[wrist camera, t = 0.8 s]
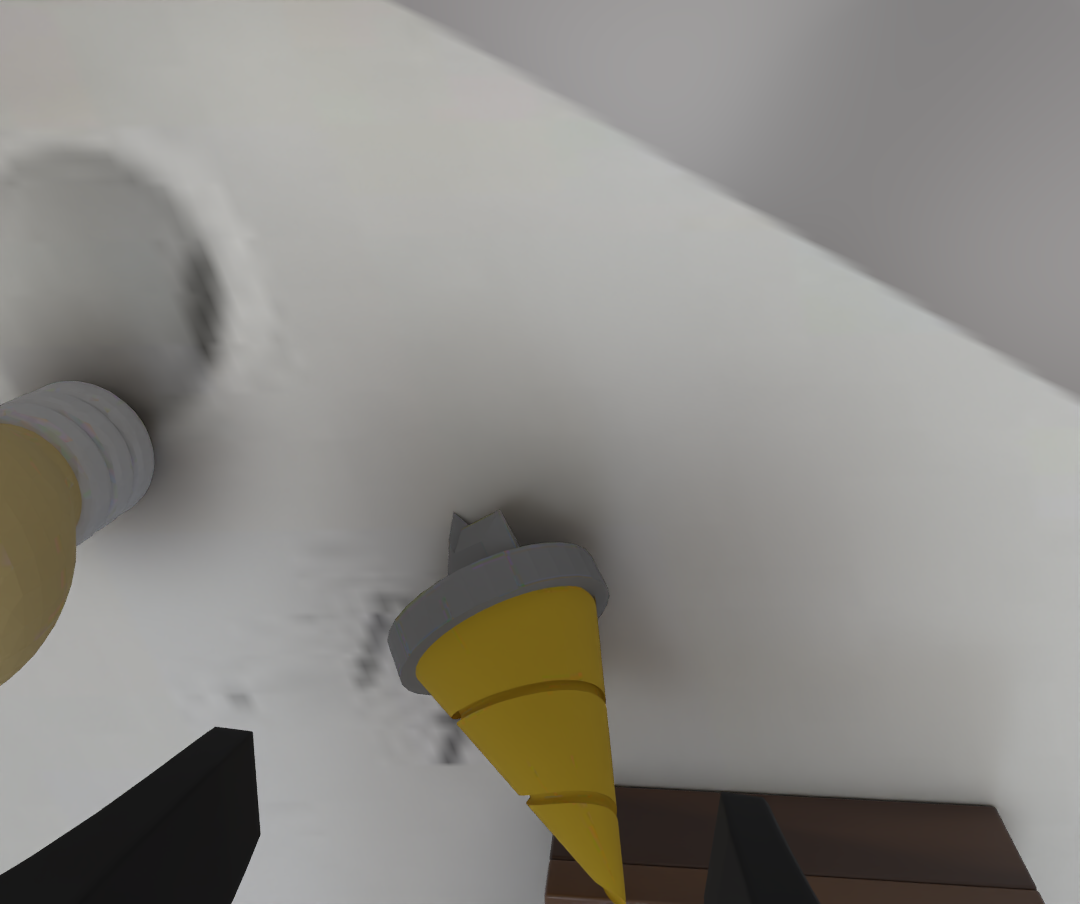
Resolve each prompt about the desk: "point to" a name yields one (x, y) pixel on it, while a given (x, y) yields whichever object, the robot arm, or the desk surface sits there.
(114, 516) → the light bulb
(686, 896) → the desk riser
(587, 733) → the yellow stepped cone
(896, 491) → the desk surface
